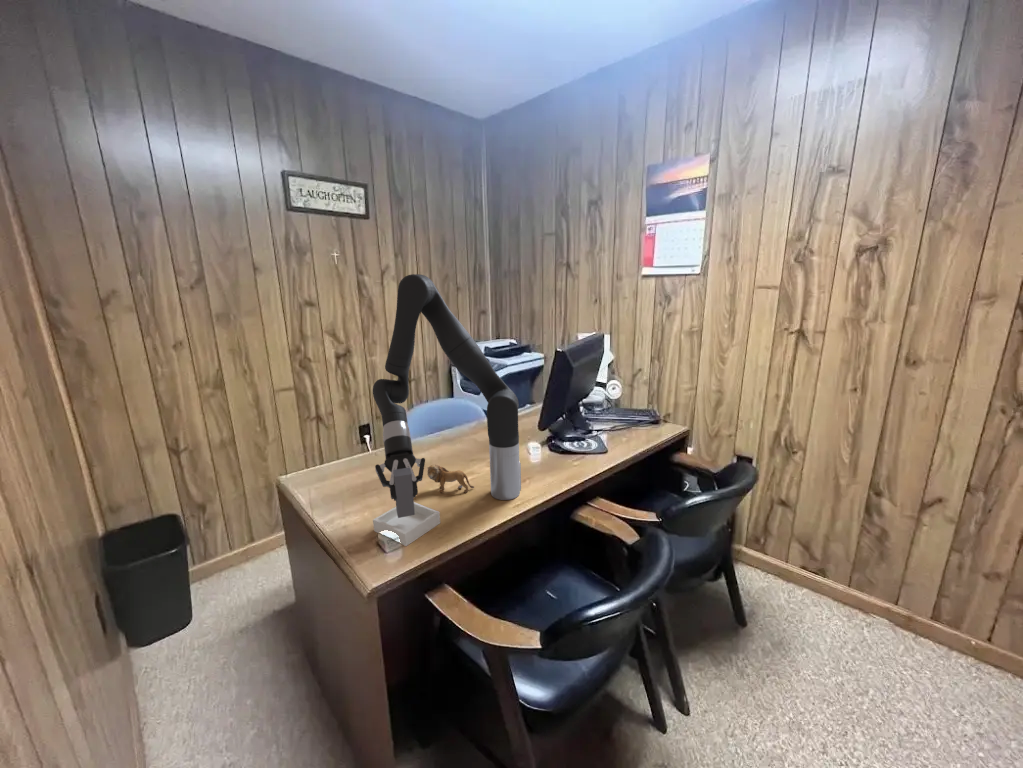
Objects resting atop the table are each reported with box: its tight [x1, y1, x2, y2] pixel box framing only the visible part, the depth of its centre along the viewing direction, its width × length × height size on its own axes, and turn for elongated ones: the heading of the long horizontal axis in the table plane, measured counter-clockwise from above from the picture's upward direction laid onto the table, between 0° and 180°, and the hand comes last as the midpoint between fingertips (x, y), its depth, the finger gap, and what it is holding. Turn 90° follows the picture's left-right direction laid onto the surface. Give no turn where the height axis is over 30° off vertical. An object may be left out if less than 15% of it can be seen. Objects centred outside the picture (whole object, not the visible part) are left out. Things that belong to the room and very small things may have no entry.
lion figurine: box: [427, 464, 475, 493], centre depth 135 cm, size 15×5×9 cm, turn 94°
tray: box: [372, 501, 441, 547], centre depth 116 cm, size 13×13×4 cm
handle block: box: [393, 467, 415, 518], centre depth 113 cm, size 4×4×12 cm
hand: (405, 498), depth 112 cm, fingers closed on handle block, 4 cm apart
